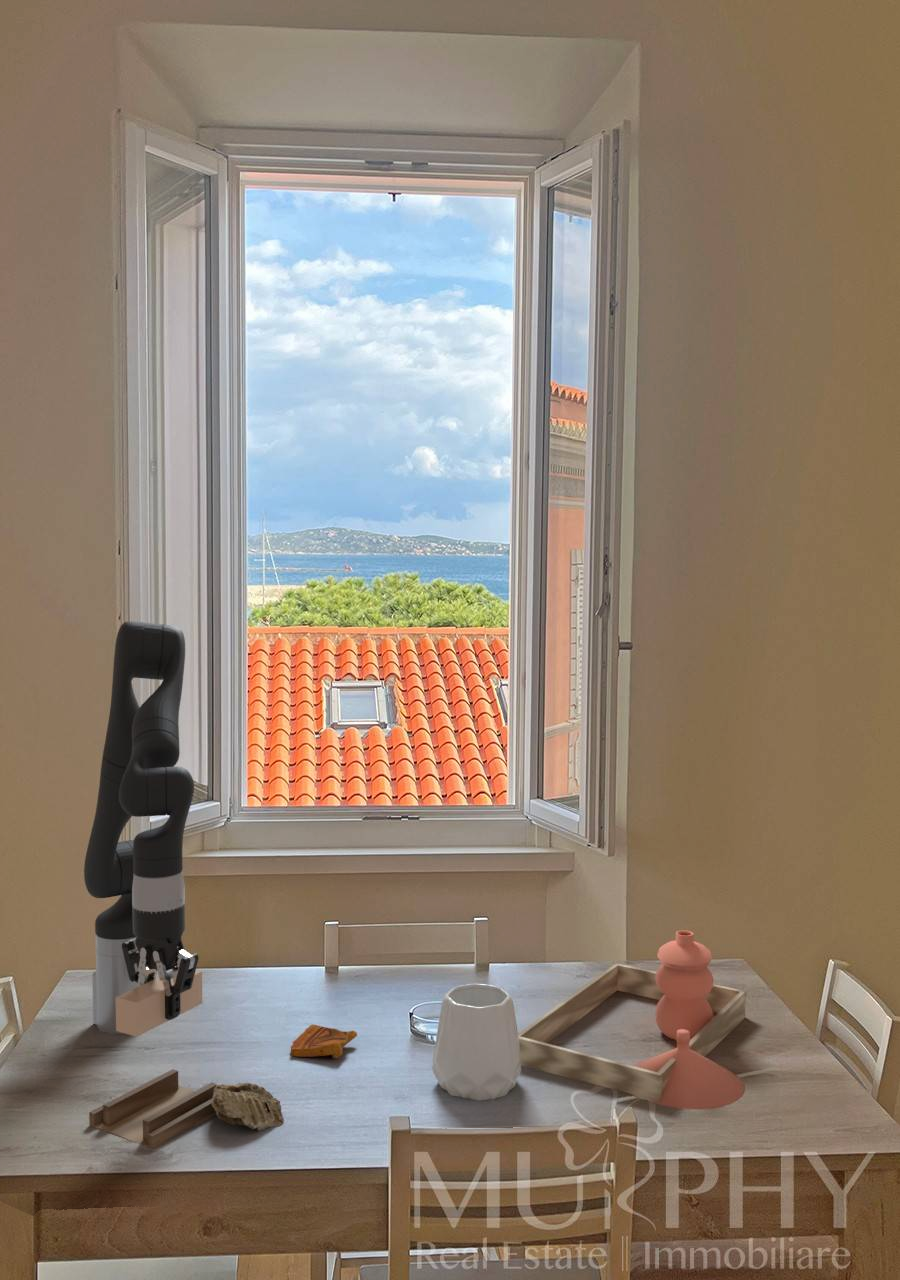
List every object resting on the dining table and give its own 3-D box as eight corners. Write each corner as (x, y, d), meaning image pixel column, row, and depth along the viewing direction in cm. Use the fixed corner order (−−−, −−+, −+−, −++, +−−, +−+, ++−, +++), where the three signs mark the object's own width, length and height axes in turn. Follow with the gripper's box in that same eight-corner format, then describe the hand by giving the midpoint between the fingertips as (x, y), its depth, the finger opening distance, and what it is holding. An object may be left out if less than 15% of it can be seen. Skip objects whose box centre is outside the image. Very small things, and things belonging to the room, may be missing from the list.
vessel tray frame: (512, 1066, 198) (513, 1036, 198) (615, 988, 232) (615, 963, 232) (659, 1106, 184) (660, 1075, 184) (745, 1017, 219) (746, 991, 218)
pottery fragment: (341, 1046, 197) (286, 1030, 200) (337, 1073, 198) (281, 1056, 200) (361, 1025, 207) (308, 1009, 209) (357, 1050, 207) (304, 1034, 210)
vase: (419, 1076, 194) (419, 985, 193) (498, 1061, 200) (499, 973, 198) (453, 1115, 181) (454, 1018, 180) (536, 1098, 187) (538, 1004, 185)
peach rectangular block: (182, 998, 185) (181, 966, 184) (202, 1003, 183) (202, 971, 182) (116, 1030, 172) (115, 997, 172) (136, 1036, 171) (136, 1002, 170)
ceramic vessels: (753, 1123, 179) (755, 1001, 178) (612, 1111, 184) (612, 992, 182) (744, 1030, 214) (745, 927, 212) (625, 1022, 218) (625, 921, 216)
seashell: (274, 1158, 175) (285, 1103, 184) (286, 1126, 172) (296, 1072, 181) (199, 1139, 174) (214, 1085, 183) (210, 1107, 171) (224, 1053, 179)
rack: (89, 1130, 176) (89, 1104, 175) (169, 1088, 189) (168, 1063, 189) (152, 1155, 169) (152, 1128, 168) (230, 1109, 182) (230, 1084, 182)
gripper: (212, 903, 175) (213, 1016, 177) (143, 887, 183) (145, 996, 185) (175, 916, 169) (177, 1034, 171) (105, 900, 177) (107, 1012, 178)
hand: (160, 1013), depth 178 cm, fingers closed on peach rectangular block, 4 cm apart
